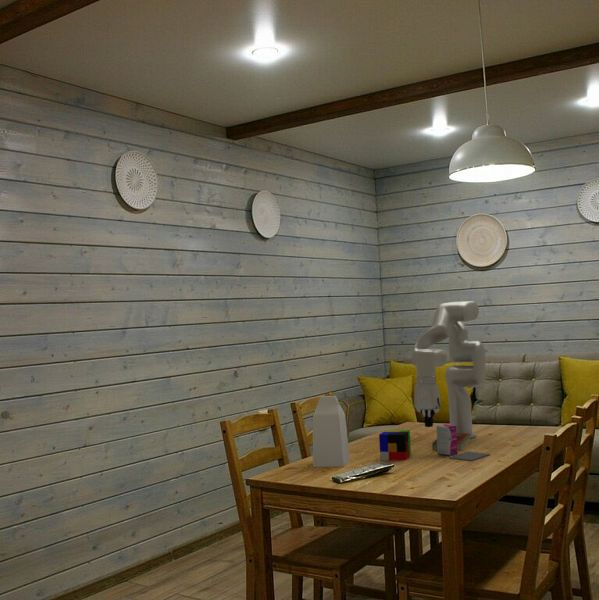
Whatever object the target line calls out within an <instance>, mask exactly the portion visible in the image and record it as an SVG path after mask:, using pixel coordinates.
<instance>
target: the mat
mask: <svg viewBox="0 0 599 600" xmlns="http://www.w3.org/2000/svg"><path fill="white" fill-rule="evenodd" d="M490 456H491V453H487V452H486V453H484V452H477V451H465V452H462V453H457V454H455V455H451V456H448V459H450V460H458V461H468V462H473V461H477V460H479V459H482V458H485V457H486V458H487V457H490Z"/></svg>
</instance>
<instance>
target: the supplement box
mask: <svg viewBox="0 0 599 600" xmlns="http://www.w3.org/2000/svg"><path fill="white" fill-rule="evenodd" d="M436 439H437V450H436V451H437V455H438V456H444V457H452V456H455V455H458V451H457V429H456V425H450V424H445V423H444V424H440V425H439V424H438V425H436Z"/></svg>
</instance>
